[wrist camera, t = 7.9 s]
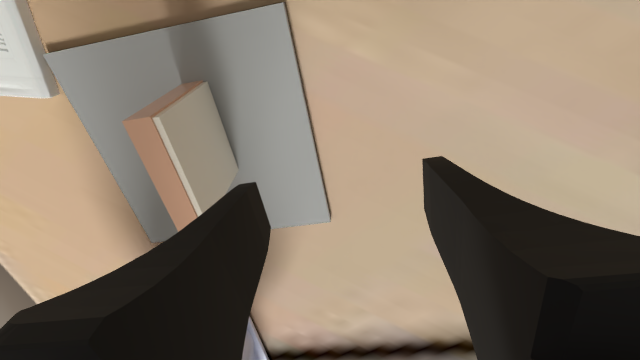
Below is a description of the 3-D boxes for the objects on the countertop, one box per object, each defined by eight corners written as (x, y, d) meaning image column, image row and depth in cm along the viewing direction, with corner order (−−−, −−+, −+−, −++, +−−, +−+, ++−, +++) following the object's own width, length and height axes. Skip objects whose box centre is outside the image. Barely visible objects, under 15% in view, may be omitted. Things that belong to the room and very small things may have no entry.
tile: (239, 170, 22) (207, 228, 17) (216, 173, 22) (178, 232, 17) (207, 79, 19) (156, 115, 14) (181, 84, 19) (121, 121, 14)
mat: (330, 218, 24) (330, 222, 23) (154, 239, 26) (151, 242, 25) (284, 1, 17) (283, 2, 17) (47, 53, 19) (42, 54, 19)
